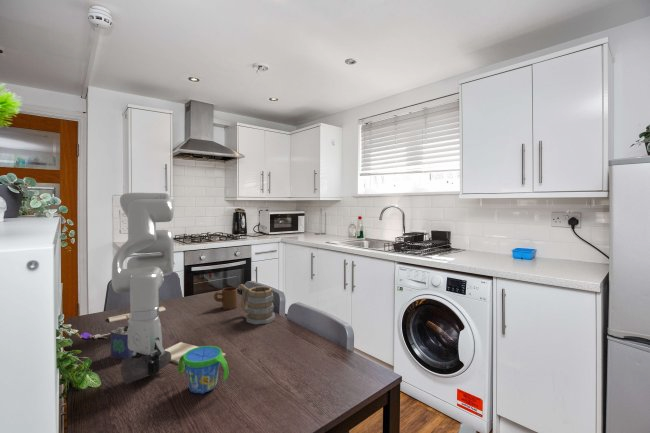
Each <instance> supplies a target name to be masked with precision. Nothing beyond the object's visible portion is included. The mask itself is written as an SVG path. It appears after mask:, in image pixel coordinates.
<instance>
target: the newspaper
mask: <svg viewBox="0 0 650 433" xmlns="http://www.w3.org/2000/svg"><path fill="white" fill-rule="evenodd" d="M165 311H166V308H165V306H159V313H160V312H165ZM130 318H131V313H124V314H120V315H119V314H118V315H114V316H110V317H107V320H108V321H109V323H113V322H117V321H123V320H127V319H128V320H129V319H130Z"/></svg>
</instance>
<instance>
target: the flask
mask: <svg viewBox="0 0 650 433" xmlns="http://www.w3.org/2000/svg"><path fill="white" fill-rule="evenodd" d="M132 355H133V353H132V351H131V350H130V349H129V348H128V332H127V331H125V326H122V327H121V326H119V327H117V328H116V329H114V330H111V331H110V358H112V359H117V360H123V359H126V358H129V357H131V356H132Z"/></svg>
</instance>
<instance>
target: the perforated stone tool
mask: <svg viewBox="0 0 650 433" xmlns="http://www.w3.org/2000/svg"><path fill="white" fill-rule="evenodd" d="M152 356H153V357H154V356H155V353H153V354H152ZM170 360H171V353H170V352H169V351H165V353H164V354H163V355H162V356H161V358H160V359H159V371H161V370H163V369H164V368H165V367H166V366H168V364H169V363H170V362H171V361H170ZM148 363H150V361H149V357H148V355H144V354H139V355H134V356H131V357H129V358H126V359H121V366H120V371H121V373H120V375H121V376H122V380H123V382H124V383H130V382H134V381H138V380H140V379H143V378H146V377H148V376H149V375H148Z"/></svg>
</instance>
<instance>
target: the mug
mask: <svg viewBox="0 0 650 433" xmlns="http://www.w3.org/2000/svg"><path fill="white" fill-rule="evenodd" d="M218 296H221V297H219V298H218ZM213 299H214V300H215V301H216V302H219V303H221V307H222V309H224V310H233V309H235V308H237V307H238V287H233V286H232V287H231V286H229V287H224V288H222V289H221V291H217V292H215V293H214V295H213Z"/></svg>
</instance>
